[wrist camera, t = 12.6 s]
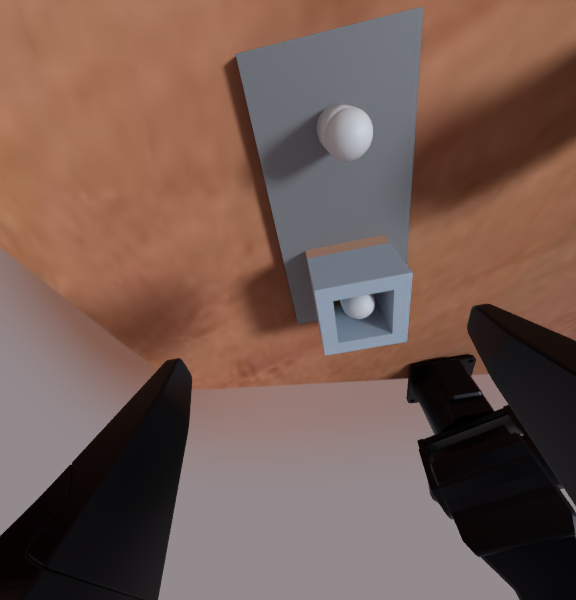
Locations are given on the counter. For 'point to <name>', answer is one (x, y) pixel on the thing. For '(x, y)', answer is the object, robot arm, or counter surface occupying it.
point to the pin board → (336, 140)
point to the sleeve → (360, 293)
